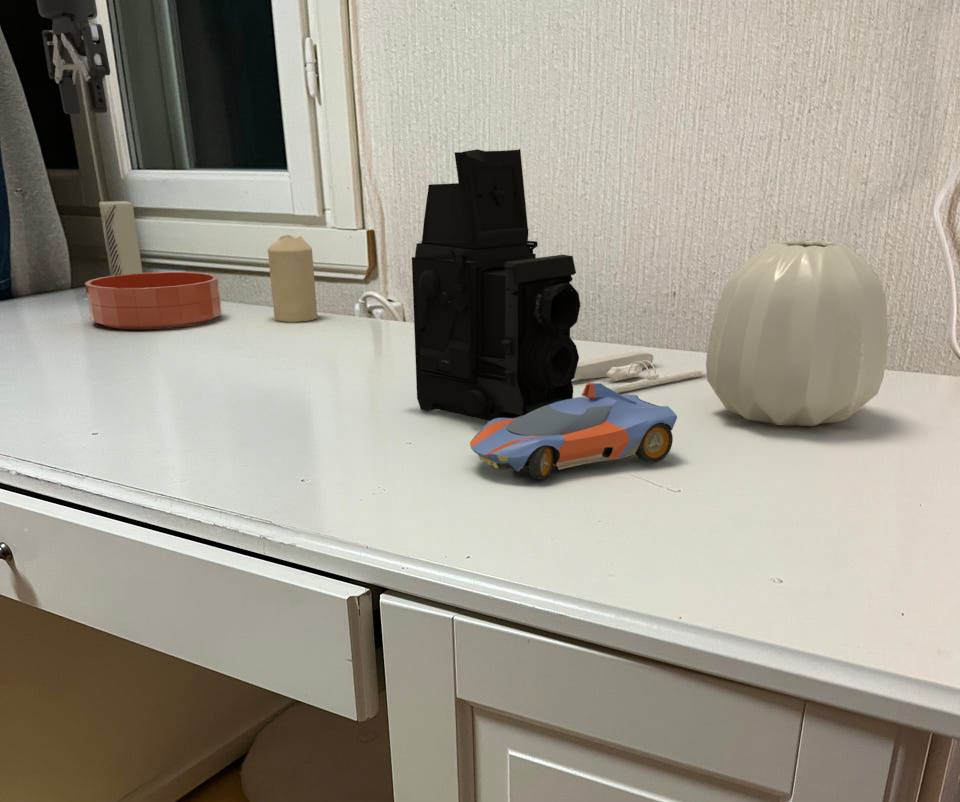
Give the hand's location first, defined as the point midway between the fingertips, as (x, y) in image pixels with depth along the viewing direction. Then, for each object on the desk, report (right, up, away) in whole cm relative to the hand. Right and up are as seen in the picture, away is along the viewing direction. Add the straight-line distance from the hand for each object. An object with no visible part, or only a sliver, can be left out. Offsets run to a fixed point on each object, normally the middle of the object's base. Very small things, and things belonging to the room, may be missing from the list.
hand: (85, 113), depth 139 cm
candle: (+32, -33, -11) cm, 47 cm away
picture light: (+71, -50, -46) cm, 98 cm away
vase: (+81, -56, -57) cm, 114 cm away
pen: (+68, -49, -43) cm, 94 cm away
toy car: (+62, -62, -68) cm, 111 cm away
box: (+3, -22, +11) cm, 25 cm away
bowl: (+14, -33, -11) cm, 38 cm away
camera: (+58, -56, -56) cm, 98 cm away
